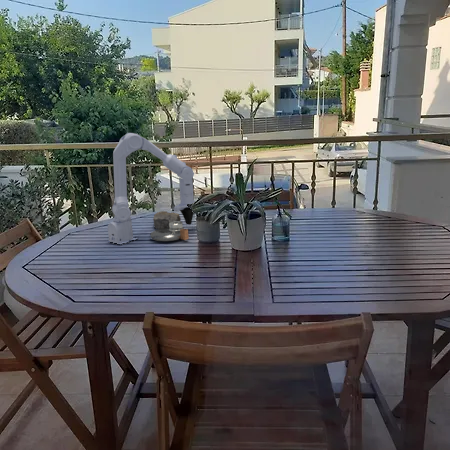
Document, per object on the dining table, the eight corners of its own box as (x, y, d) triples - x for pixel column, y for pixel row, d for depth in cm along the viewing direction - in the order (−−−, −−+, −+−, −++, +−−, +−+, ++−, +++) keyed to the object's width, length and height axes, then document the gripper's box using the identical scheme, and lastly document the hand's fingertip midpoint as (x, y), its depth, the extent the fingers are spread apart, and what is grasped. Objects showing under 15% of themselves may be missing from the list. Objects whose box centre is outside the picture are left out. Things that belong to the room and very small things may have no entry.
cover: (176, 232, 165) (175, 225, 165) (165, 230, 169) (165, 223, 168) (186, 229, 170) (186, 222, 169) (176, 226, 174) (175, 220, 173)
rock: (176, 231, 177) (182, 222, 192) (176, 217, 176) (182, 209, 190) (148, 230, 178) (157, 222, 193) (147, 216, 177) (156, 209, 191)
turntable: (173, 244, 155) (172, 234, 154) (143, 237, 165) (142, 228, 164) (199, 234, 166) (198, 225, 165) (169, 228, 177) (168, 219, 176)
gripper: (181, 197, 164) (184, 229, 167) (204, 191, 175) (206, 221, 178) (169, 196, 168) (172, 227, 172) (192, 189, 179) (194, 219, 183)
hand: (188, 223), depth 175 cm, fingers closed
